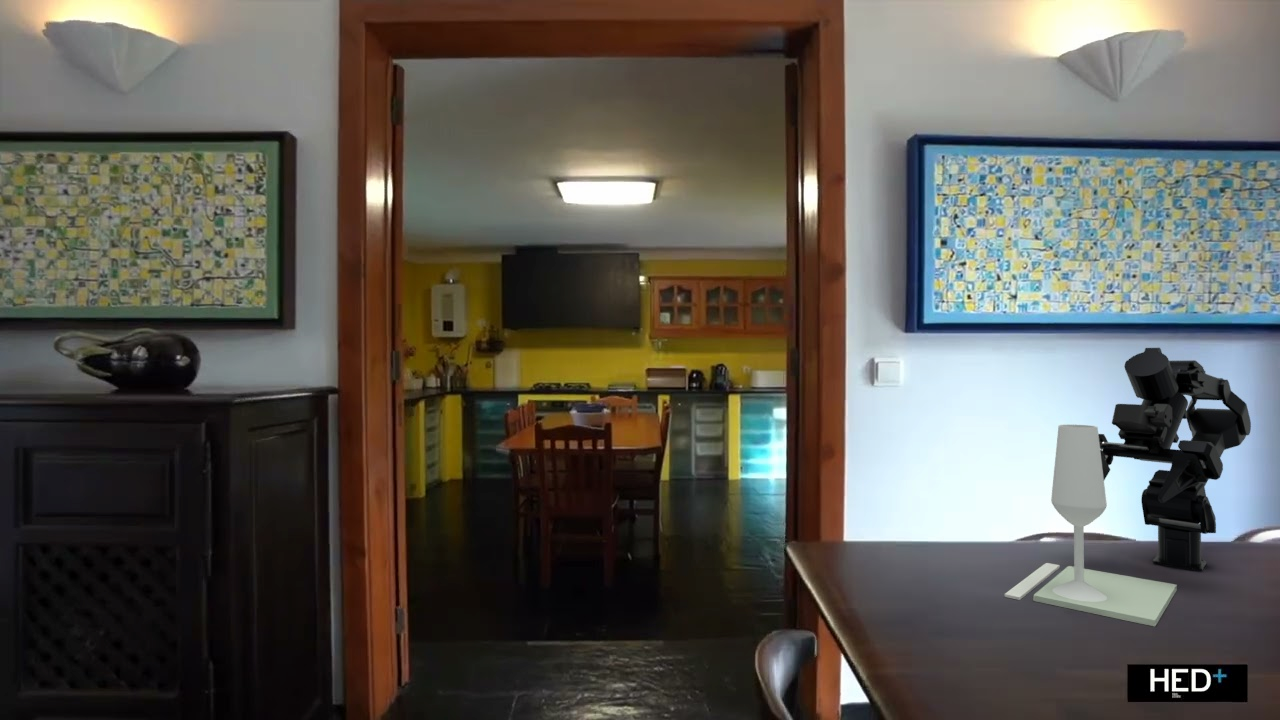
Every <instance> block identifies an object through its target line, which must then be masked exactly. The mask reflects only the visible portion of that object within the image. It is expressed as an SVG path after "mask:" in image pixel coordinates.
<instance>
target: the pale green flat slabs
mask: <svg viewBox="0 0 1280 720" xmlns="http://www.w3.org/2000/svg"><path fill="white" fill-rule="evenodd" d="M1060 567H1061V566H1060V564H1055V563H1049V562H1046V563H1044V564H1042V565H1041V566H1040V567H1039V568H1037V569H1036V570H1034V571H1033V572H1032V573H1031V574H1029V575H1028V576H1026V577H1025V578H1024V579H1022V580H1021V581H1020V582H1019V583H1017V584H1016V585H1015V586H1013V587H1012V588H1010V589H1009V590H1008V591H1007V592H1004V596H1003V597H1005V598H1007V599H1014V600H1018V601H1021V600H1022V599H1023V598H1024V597H1025V596H1027V595H1028V594H1029V593H1030V592H1032V591H1033V590H1034V589H1035V588H1037V587H1038V586H1039V585H1040V584H1042V583H1043V582H1044V581H1045V580H1046V579H1048V578H1049V577H1050V576H1052V575H1053V574H1054V573H1055V572H1056V571H1058V570H1059V569H1060ZM1072 580H1074V566H1072V565H1068V566H1066V567H1065V568H1064V569H1063V570H1062V571H1060V572H1059V573H1058V574H1057V575H1056V576H1054V577H1053V578H1052V579H1051V580H1049V582H1047V583H1046V584H1045V585H1044V586H1042V587H1041V588H1040V589H1039V590H1038V591H1036V592H1035V593H1034V594H1033V602H1037V603H1042V604H1047V605H1051V606H1056V607H1060V608H1065V609H1071V610H1073V611H1074V610H1075V611H1080V612H1084V613H1089V614H1095V615H1098V616H1104V617H1108V618H1112V619H1117V620H1121V621H1122V620H1123V621H1127V622H1131V623H1136V624H1140V625H1146V626H1150V627H1154V628H1155V627H1156V626H1157V624H1158V623H1159V621H1160V619H1161V618H1162V616H1163V614H1164V613H1165V610H1166V609H1167V607H1168V606H1169V604H1170V602H1171V600H1172V599H1173V597H1174V596H1175V594H1176V592H1177V591H1178V589H1177V588H1178V585H1177V584H1174V583H1169V582H1163V581H1157V580H1153V579H1146V578H1141V577H1140V578H1139V577H1135V576H1130V575H1129V576H1128V575H1123V574H1117V573H1113V572H1112V573H1111V572H1105V571H1099V570H1094V569H1088V568H1084V581H1085V582H1086V583H1088V584H1089V585H1091V586H1092V587H1094V588H1095V589H1097V590H1098V591H1100V592H1101V593H1103V594H1104V595H1105V596H1107V600H1105V601H1100V602H1087V601H1079V600H1073V599H1069V598H1065V597H1062V596H1059V595H1057V594H1055V593H1054V592H1053V591H1052V589H1053V588H1055V587H1057V586H1060V585H1062V584H1065V583H1067V582H1070V581H1072Z"/></svg>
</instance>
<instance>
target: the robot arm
mask: <svg viewBox="0 0 1280 720" xmlns="http://www.w3.org/2000/svg"><path fill="white" fill-rule="evenodd" d="M1124 369H1125V373H1126V375H1127V377H1128V380H1129V382H1130V385H1131V387H1132V390H1133V392H1134V395H1135V396H1136V398H1139V399H1142V401H1141V404H1136V403H1135V404H1134V403H1117V404H1115V406H1114V412H1113V416H1112V420H1111V424H1112V425H1113V426H1116V428H1118V429H1119V431H1118V434H1117V435H1118V436H1119V438H1120V440H1124V442H1123V443H1122V442H1109V441H1108V439H1107V436H1106V435H1105V433H1104V434H1103V433H1098V435H1099V444H1100V452H1101V461H1102V469H1103V478H1104V481H1105V480H1106V478H1107V476H1108V475H1109V473H1110V471H1111V468H1110V465H1112V463H1113V462H1114V457H1118V458H1129V459H1134V460H1139V461H1143V462H1152V463H1163V464H1171V466H1170V470H1168V469H1167V470H1164V469H1158V470H1156V471H1155V472H1154V474H1153V476H1152V478H1151V479H1150V480H1148V485H1147V487H1146V488H1145V489H1143V491H1142V493H1141V507H1142V513H1143V520H1144V524H1145V525H1146V526H1147V525H1148V526H1149V525H1151V526H1154V527H1155V526H1156V527H1157V555H1156V556H1155V557H1154V558H1153V560H1152V563H1153V564H1155V565H1159V566H1160V565H1161V566H1166V567H1172V568H1178V569H1179V568H1180V569H1185V570H1192V571H1197V572H1203V571H1204V569H1205V566H1206V565H1207V561H1206V560H1204V559H1202V534H1205V535H1206V534H1216V533H1217V523H1216V516H1215V512H1214V511H1213V507H1212V505H1211V503H1210V499H1209V497H1208V496H1207V494H1206V487H1205V486H1206V484H1207V483H1208V481H1209V480H1214V481H1217V480H1219V479H1220V478H1221V476H1222V472H1223V471H1224V467H1223V466H1224V464H1223V462H1222V459H1221V458H1222V455H1223V454H1224V452H1225V450H1229V449H1233V448H1235V447H1239V446H1240V445H1242V443H1243V442H1244V441H1245V439H1246V437H1247V436H1250V433H1251V428H1252V421H1251V417H1250V413H1249V410H1248V406H1247V403H1246V401H1244V400H1243V399H1241V398H1240V397H1239V396H1238V395H1237V394H1235V393H1234V392H1233V391H1232V388H1231V386H1230V382H1229V380H1228V379H1224V378H1222V377H1217V376H1212V375H1210V374H1208V373H1206V370H1205V369H1204V366H1203V365H1202V364H1201V363H1199V362H1198V361H1197V360H1195V359H1194V360H1169V358H1168V356H1167V355H1166V354H1164V353H1163V352H1162V349H1161V347H1145V348H1144V351H1143V352H1141V353H1136V354H1135V355H1132V356H1131V357H1130V358H1128V359H1127V360H1126V361H1125V363H1124ZM1186 396H1189V397H1191V400H1190V401H1188V399H1187V397H1186ZM1199 400H1201V401H1208V400H1209V401H1222V404H1223V405H1224V406H1225V407H1226V408H1225V409H1224V408H1207V407H1206V408H1204V407H1203V408H1201V407H1197V408H1196V406H1195V405H1196V404H1197V401H1199ZM1227 408H1228V409H1227ZM1183 419H1184V420H1186V421H1187V426H1188V428H1189V430H1190V433H1191V436H1192V437H1191V439H1190V440H1188V439H1187V440H1186V439H1184V440H1183V439H1182V440H1179V439H1180V437H1179V435H1178V431H1179V429H1180V428H1179V427H1180V425H1181V423H1182V421H1183ZM1173 444H1177V446H1178V449H1175V448H1174V449H1173V448H1172V445H1173Z"/></svg>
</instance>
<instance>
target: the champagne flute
mask: <svg viewBox="0 0 1280 720" xmlns="http://www.w3.org/2000/svg"><path fill="white" fill-rule="evenodd" d="M1098 434H1099V428H1098V426H1097V425H1088V424H1058V430H1057V437H1056V449H1055V450H1056V451H1055V458H1054V468H1053V480H1052V487H1051V498H1050V500H1051V501H1050V502H1051V504H1052V506H1053V508H1054V509H1055V510H1056V511H1057V513H1058V514H1059V515H1060V516H1061V517H1063V519H1064V520H1065V521H1067V522H1068V523H1069V524H1071V525H1073V561H1074V562H1073V564H1074V565H1073V567H1074V580H1072V581H1070V582H1067V583H1065V584H1062V585H1060V586H1057V587H1055V588H1053V589H1052V591H1053V592H1054V593H1055V594H1057V595H1059V596H1062V597H1065V598H1069V599H1073V600H1079V601H1087V602H1100V601H1105V600H1107V596H1105V595H1104V594H1103V593H1101V592H1100V591H1098V590H1097V589H1095V588H1094V587H1092V586H1091V585H1089V584H1088V583H1086V582H1085V581H1084V569H1085V562H1084V561H1085V553H1084V552H1085V549H1084V548H1085V547H1084V545H1085V544H1084V543H1085V542H1084V541H1085V539H1084V538H1085V536H1084V527H1086V526H1088V525H1090V524H1091V523H1093V522H1095V520H1097V519H1098V518H1099V517H1100V516H1102V514H1103V513H1104V512H1105V510H1106V509H1107V497H1106V495H1107V494H1106V488H1105V480H1104V478H1103V469H1102V461H1101V452H1100V444H1099V435H1098Z"/></svg>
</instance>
